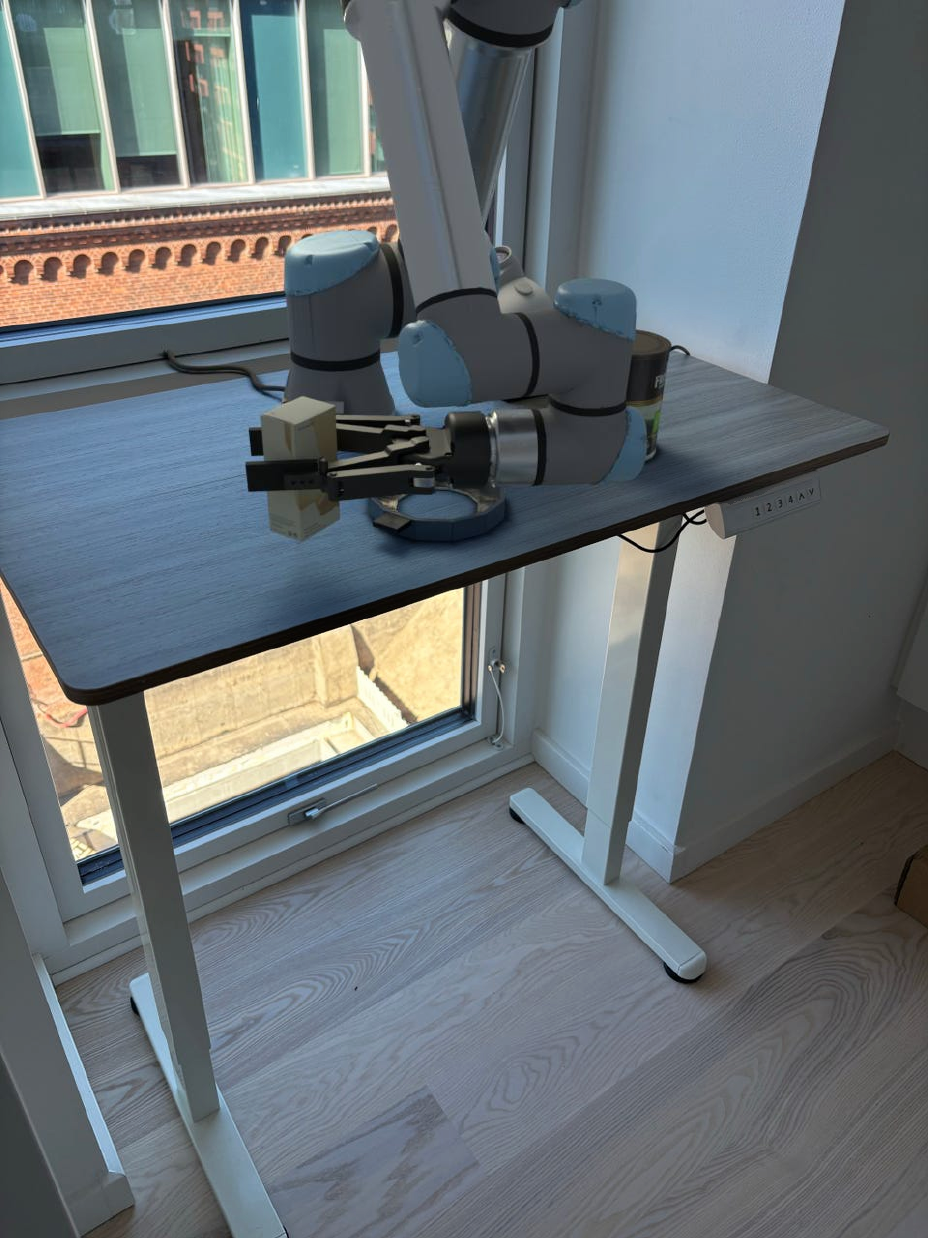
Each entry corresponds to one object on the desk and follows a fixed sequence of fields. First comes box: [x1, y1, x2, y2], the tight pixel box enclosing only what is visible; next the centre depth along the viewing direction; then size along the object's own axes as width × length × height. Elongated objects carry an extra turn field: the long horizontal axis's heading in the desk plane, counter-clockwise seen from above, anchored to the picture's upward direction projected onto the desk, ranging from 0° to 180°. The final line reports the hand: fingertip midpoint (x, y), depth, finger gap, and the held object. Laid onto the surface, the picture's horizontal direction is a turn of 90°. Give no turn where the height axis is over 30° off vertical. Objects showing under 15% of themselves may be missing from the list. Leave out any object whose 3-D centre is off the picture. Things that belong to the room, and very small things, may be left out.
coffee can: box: [626, 328, 673, 462], centre depth 121 cm, size 10×10×14 cm
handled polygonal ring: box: [368, 476, 506, 542], centre depth 110 cm, size 15×20×2 cm
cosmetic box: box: [259, 396, 341, 542], centre depth 93 cm, size 6×4×12 cm
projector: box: [493, 245, 554, 313], centre depth 154 cm, size 22×23×15 cm
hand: (248, 458), depth 92 cm, fingers closed on cosmetic box, 7 cm apart
